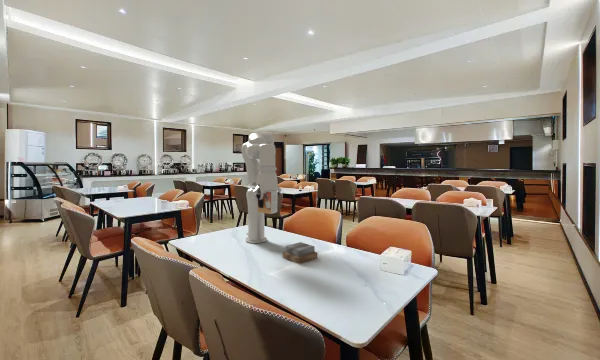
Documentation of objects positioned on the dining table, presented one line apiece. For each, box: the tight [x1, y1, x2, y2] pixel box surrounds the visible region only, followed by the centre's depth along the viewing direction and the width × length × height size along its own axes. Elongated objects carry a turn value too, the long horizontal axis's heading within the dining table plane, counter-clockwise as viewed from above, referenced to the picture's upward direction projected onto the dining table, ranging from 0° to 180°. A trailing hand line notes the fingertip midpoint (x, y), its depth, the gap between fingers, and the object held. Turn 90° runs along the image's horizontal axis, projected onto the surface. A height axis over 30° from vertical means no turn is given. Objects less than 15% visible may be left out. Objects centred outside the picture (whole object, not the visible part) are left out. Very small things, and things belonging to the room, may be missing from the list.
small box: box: [258, 191, 279, 215], centre depth 141 cm, size 8×6×10 cm
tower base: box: [282, 241, 318, 265], centre depth 143 cm, size 12×12×6 cm
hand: (267, 206), depth 141 cm, fingers closed on small box, 7 cm apart
